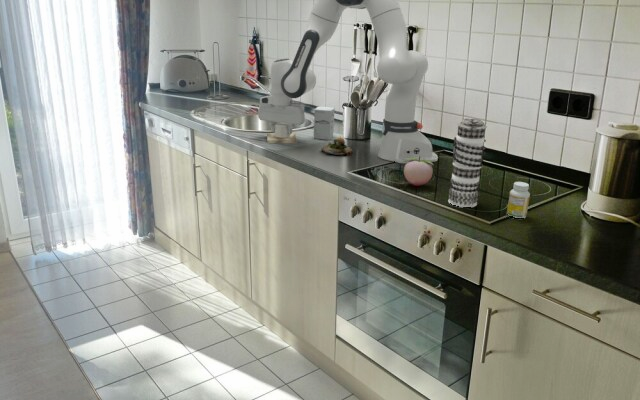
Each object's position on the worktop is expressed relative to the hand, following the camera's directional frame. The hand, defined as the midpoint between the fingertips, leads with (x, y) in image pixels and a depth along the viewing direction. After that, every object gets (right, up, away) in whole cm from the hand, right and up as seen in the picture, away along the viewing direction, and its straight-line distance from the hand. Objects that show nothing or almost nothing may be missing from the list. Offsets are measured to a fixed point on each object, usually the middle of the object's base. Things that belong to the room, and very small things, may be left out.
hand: (281, 132), depth 233 cm
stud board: (0, -3, +1) cm, 3 cm away
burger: (+23, -10, -15) cm, 29 cm away
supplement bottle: (+72, -33, -74) cm, 108 cm away
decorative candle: (+59, -29, -65) cm, 92 cm away
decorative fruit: (+47, -24, -52) cm, 74 cm away
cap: (0, -1, +1) cm, 2 cm away
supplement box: (+18, -1, +7) cm, 19 cm away
